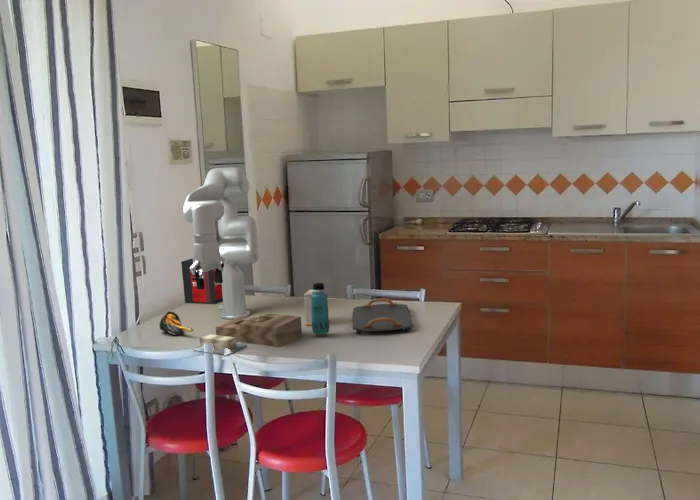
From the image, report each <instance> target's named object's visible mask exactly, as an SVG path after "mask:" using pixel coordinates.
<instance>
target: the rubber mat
mask: <svg viewBox="0 0 700 500" xmlns="http://www.w3.org/2000/svg"><path fill="white" fill-rule="evenodd" d="M236 344H237V347H235V348H233V349H231V352H233V353H232V354H234V353H236V352H238V351H240V350H243V349H245V348H247V346H248V345H247V344H245V343H244V344H243V343H242V344H240V343H236ZM198 347H200V345H199V346H196V347H195V348H198ZM244 347H245V348H244ZM242 348H243V349H242ZM213 353H214V354H213V355H219V356H225V355H224V350H220V349H214V350H213Z"/></svg>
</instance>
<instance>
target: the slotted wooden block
mask: <svg viewBox="0 0 700 500" xmlns="http://www.w3.org/2000/svg"><path fill="white" fill-rule="evenodd" d="M215 335H220V336H228V337H236V343H243V342H244V344H251V345H252V344H253V345H261V346H270V347H276V348H278V347H280V346H282V345H285V344H286V343H288V342H290V341H292V340H294V339H296V338H297V337H301V336H302V335H303V331H302V317H301V316H300V315H290V314H289V315H288V314H287V315H286V314H278V313H277V314H276V313H268V312H264V313H261V314H260V315H258V316H250V315H248V316H241V317H238V318H236V319H230V320H228V321H226V322H223V323H220V324H218V325H216V326H215Z"/></svg>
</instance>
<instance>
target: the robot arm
mask: <svg viewBox="0 0 700 500" xmlns="http://www.w3.org/2000/svg"><path fill="white" fill-rule="evenodd" d="M249 191H250V183H249V180H248V177H247V176H246V174H245V173H244V171H243V170H242V169H241V168H239V167H238V166H237V167H236V166H234V167H233V166H231V167H229V166H228V167H216V168H215V167H214V168H212V169H210V170H209V171H208V172H207V174H206V177H205V180H204V183H203V185H202V186H200V187H198V188H196V189H195V190H192V192H190V193H189V194H188V195H187V196H186V199H185V202H184V204H183V207H182V208H183V209H182V213H183V217H184V219H185V221H187V222H189V223H192V225H193V226H192V227H193V237H194V244H192V245H193V247H192V258H193V265H192V266H191V267H190V271H191V273H192V275H193V276H194V278H196V287H197V289H205V286H204V278H202V277H203V274H204V272H207V271H210V270H213V269H214V270H215V271H216V272H214V277H215V283H221V284H222V296H223V301H222V304H218V305H219V306H217V310H218V311H221V313H220V318H222V319H225V320H226V319H227V320H233V319H236V318H238V317H241V316H250V314H251V311H250V310H248V309H247V303H246V302H247V301H246V290H245V289H246V288H245V279H244V273H243V271H242V270H241V269H240V267H239V265H252V264H256V263H258V260H259V256H260V255H259V252H260V251H259V239H258V229H257V227H258V226H257V222H256V220H255V218H254V217H253V216H248V215H244V216H239V215H238V205H237V202H236V201H235V200H234V197H245V196H247V195H248V194H249ZM216 222H217V227H216ZM216 228H217V229H218V235H219V237H220V238H221V239H223V240H242V239H243V240H246V241H239V242H238V241H237V242H234V241H233V242H225V243H221V244H219V242H218V240H217V230H216ZM199 272H200V274H199Z"/></svg>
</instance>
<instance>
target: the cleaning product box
mask: <svg viewBox="0 0 700 500" xmlns="http://www.w3.org/2000/svg"><path fill="white" fill-rule="evenodd" d="M180 263H181V272H182V281H183V283H182V285H183V294H184V304H196V305H197V304H200V305H217V304H220V303H221V302H223V296H222V284H221V283H215V277H214V272H216V271H215V270H214V269H213V270H210V271H207V272H204V274H203V277H202V278H204V286H205V289H197V287H196V278H194V276H193V275H192V273H191V271H190V267H191V266H192V265H193V257H191V258H189V259H186V260H185V259H184V260H182V261H181V262H180ZM199 274H200V272H199Z"/></svg>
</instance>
